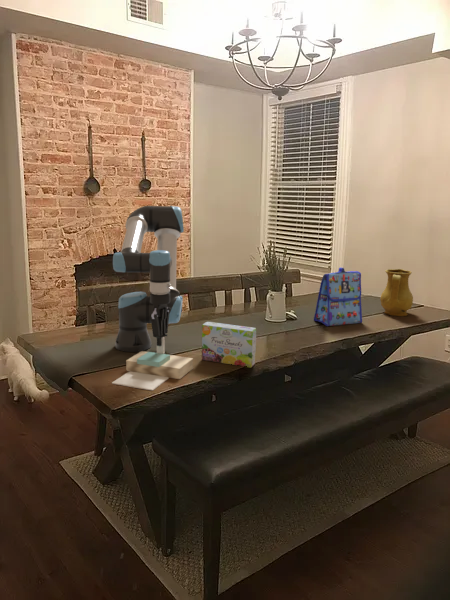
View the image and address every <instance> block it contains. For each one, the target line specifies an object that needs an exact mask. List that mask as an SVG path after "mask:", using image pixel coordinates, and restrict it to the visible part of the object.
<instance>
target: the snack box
mask: <svg viewBox="0 0 450 600" xmlns="http://www.w3.org/2000/svg"><path fill="white" fill-rule="evenodd" d="M256 347H257V328H256V327H251V326H246V325H245V326H244V325H237V324H236V325H234V324H231V323H230V324H229V323H222V322H214V321H206V322H204V323H203V324H201V360H202V361H208V362H215V363H221V364H227V365H231V364H232V365H233V366H237V365H241V366H240V367H244V366H247V367H246V368H252V367H254V365H255V364H256V351H257V349H256Z"/></svg>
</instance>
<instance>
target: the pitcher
mask: <svg viewBox="0 0 450 600" xmlns="http://www.w3.org/2000/svg"><path fill="white" fill-rule="evenodd" d="M385 273H386V274H387V282H386V286H385V288H384V289H383V291H382V293H381V294H380V300H379V301H380V305H381V307H382V308H383V309H384V311H383V313H384V314H386V315H388V316H389V315H390V316H393V317H394V316H395V317H407V316H408V315H409V314H408V313H407V311H409V310H411V309H412V306H413V304H414V303H413V302H414V295H413V293H412V292H411V290H410V288H409V287H410V286H409V278H410V276H411V274H412V271H411V270H405V269H403V268H393V269H392V268H391V269H390V268H388V269H385Z"/></svg>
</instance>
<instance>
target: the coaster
mask: <svg viewBox="0 0 450 600" xmlns="http://www.w3.org/2000/svg"><path fill="white" fill-rule="evenodd" d="M147 352H148V353H146V354H144V355H143V356H141V357H140V358H138V359H137V364H142V365H148V366H155V367H160V366H161V365H163V364H164V363H166V362H167V361H168V360H170V355H171V354H166V353H164V354H161V353H157V352H154V351H153V352H152V351H147Z"/></svg>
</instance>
